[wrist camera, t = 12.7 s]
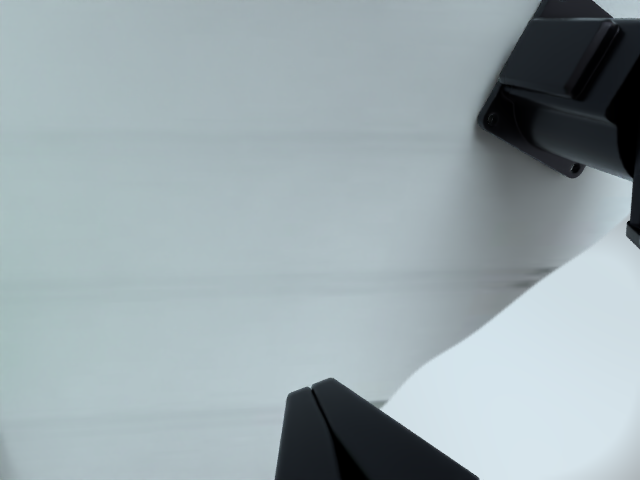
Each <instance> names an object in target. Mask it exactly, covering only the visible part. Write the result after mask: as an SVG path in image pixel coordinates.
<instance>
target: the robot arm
mask: <svg viewBox="0 0 640 480" xmlns="http://www.w3.org/2000/svg"><path fill="white" fill-rule="evenodd" d="M490 115H493V119H492V121H491V122H490V123H489V124H488V118H489V117H490ZM478 124H479V126H480V127H481V128H482V129H483V130H485V131H487V132H489V133H490V134H492V135H494V136H496V137H497V138H499V139H501V140H503V141H504V142H506V143H508V144H510V145H511V146H513V147H515V148H517V149H518V150H520V151H522V152H524V153H525V154H527V155H529V156H531V157H532V158H534V159H536V160H537V161H539V162H541V163H543V164H544V165H546V166H548V167H550V168H551V169H553V170H555V171H557V172H558V173H560V174H562V175H564V176H566V177H569V178H576V177H578V176H579V175H580V174H581V173H582V171H583V170H584V168H585V167H586V166H589V167H592V168H594V169H597V170H600V171H603V172H606V173H609V174H612V175H615V176H618V177H620V178H623V179H626V180H629V181H632V182H633V188H632V202H631V216H630V221H628V222H627V228H626V236H627V237H628V238H629V239H630V240H631V241H632V242H633V243H634V244H635V245H636V246H637V247H638V248H639V249H640V18H613V17H612V16H611V15H609V14H608V13H607V12H606V11H604V10H603V9H602V8H601V7H600V6H598V5H597V4H596V3H595V2H593V1H592V0H543V1H542V2H541V4H540V6H539V8H538V10H537V11H536V13H535V15H534V17H533V19H532V20H531V21H529V23H528V25H527V27H526V28H525V30H524V32H523V34H522V36H521V37H520V39H519V41H518V43H517V45H516V46H515V48H514V50H513V52H512V54H511V55H510V57H509V59H508V61H507V62H506V64H505V66H504V68H503V70H502V71H501V73H500V77H499V79H498V81H497V83H496V85H495V87H494V88H493V90H492V92H491V94H490V96H489V97H488V99H487V101H486V103H485V105H484V106H483V108H482V110H481V112H480V114H479V116H478ZM573 164H574V166H573V168H572V170H571V167H572V165H573ZM275 480H479V478H478V477H477V476H476V475H474V474H473V473H471V472H470V471H469V470H467V469H465V468H464V467H463V466H461V465H460V464H458V463H457V462H455V461H454V460H452V459H451V458H450V457H448V456H447V455H445V454H444V453H442V452H441V451H439V450H438V449H436V448H435V447H433V446H432V445H430V444H429V443H428V442H426V441H425V440H423V439H422V438H420V437H419V436H417V435H416V434H414V433H413V432H411V431H410V430H408V429H407V428H406V427H404V426H403V425H401V424H400V423H398V422H397V421H395V420H394V419H392V418H391V417H390V416H388V415H386V414H385V413H384V412H382V411H381V410H379V409H378V408H376V407H375V406H373V405H372V404H371V403H369V402H368V401H366V400H365V399H363V398H362V397H360V396H359V395H357V394H356V393H354V392H353V391H352V390H350V389H349V388H347V387H346V386H344V385H343V384H341V383H340V382H338V381H337V380H335V379H334V378H328V379H325V380H323V381H320V382H317V383H315V384H313V385H312V387H311V388H309V387H304V388H302V389H299V390H297V391H294V392H291V393H289V395H288V397H287V401H286V408H285V414H284V421H283V427H282V434H281V441H280V447H279V454H278V461H277V467H276V474H275Z"/></svg>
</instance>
